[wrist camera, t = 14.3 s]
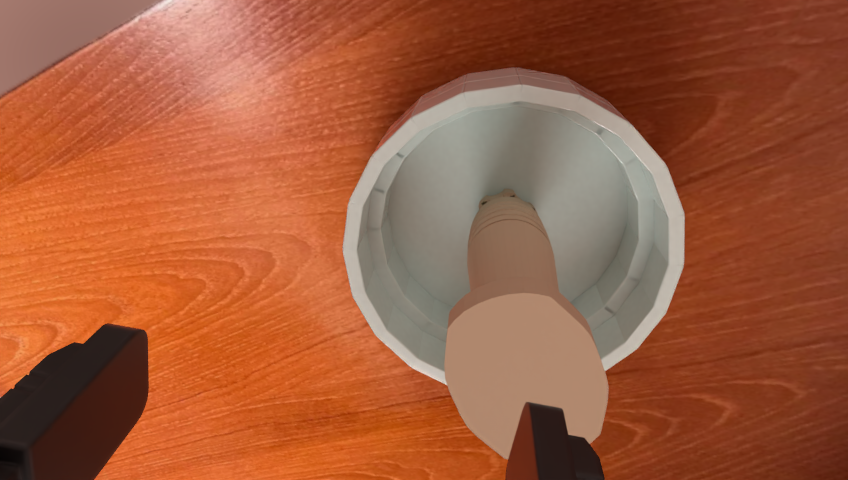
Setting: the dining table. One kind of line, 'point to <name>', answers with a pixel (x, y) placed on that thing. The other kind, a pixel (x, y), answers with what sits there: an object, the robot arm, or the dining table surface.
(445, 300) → the mixing bowl
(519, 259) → the handle
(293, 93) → the dining table surface
